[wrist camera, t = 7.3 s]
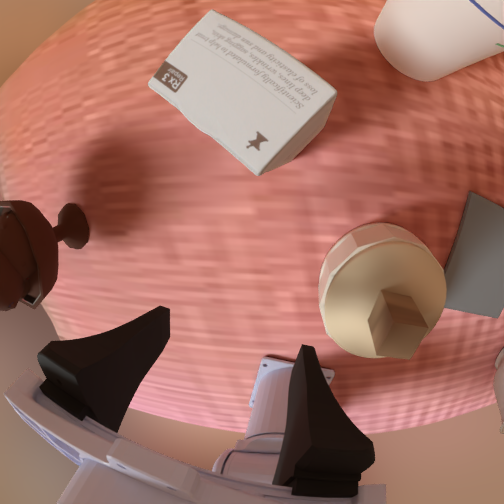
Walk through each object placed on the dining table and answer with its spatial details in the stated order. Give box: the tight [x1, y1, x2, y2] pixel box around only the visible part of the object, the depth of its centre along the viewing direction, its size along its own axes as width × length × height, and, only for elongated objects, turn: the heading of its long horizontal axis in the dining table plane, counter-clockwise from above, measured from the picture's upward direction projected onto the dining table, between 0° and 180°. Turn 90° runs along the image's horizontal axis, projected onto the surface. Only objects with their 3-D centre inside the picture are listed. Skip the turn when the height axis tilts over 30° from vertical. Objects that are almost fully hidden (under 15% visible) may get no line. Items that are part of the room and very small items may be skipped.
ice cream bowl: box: [0, 200, 89, 311], centre depth 19 cm, size 11×11×15 cm
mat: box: [444, 191, 504, 318], centre depth 18 cm, size 11×11×1 cm
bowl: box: [318, 222, 444, 339], centre depth 20 cm, size 10×10×4 cm
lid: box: [324, 241, 447, 360], centre depth 16 cm, size 10×10×5 cm
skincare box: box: [148, 10, 337, 176], centre depth 13 cm, size 6×4×12 cm
